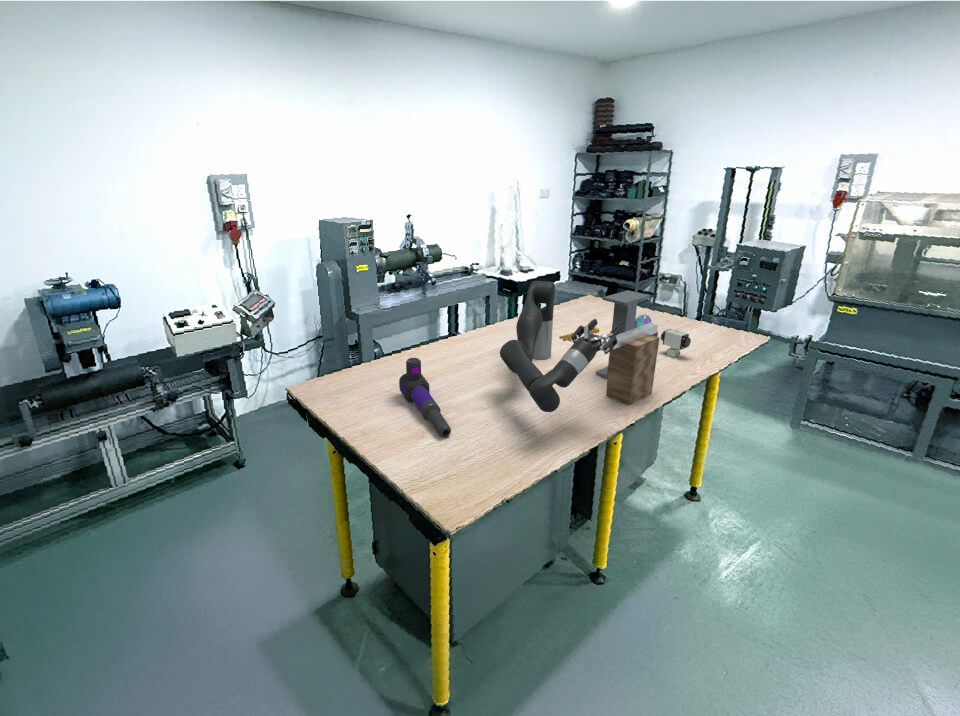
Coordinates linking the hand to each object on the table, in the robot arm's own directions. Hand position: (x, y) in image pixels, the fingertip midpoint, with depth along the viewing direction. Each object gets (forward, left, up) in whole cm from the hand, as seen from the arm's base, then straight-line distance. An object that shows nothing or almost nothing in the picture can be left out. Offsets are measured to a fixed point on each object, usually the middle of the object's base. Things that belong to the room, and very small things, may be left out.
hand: (606, 324), depth 158 cm
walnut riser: (+9, +16, -31) cm, 36 cm away
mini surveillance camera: (+24, +62, -31) cm, 74 cm away
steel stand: (+3, +34, -31) cm, 46 cm away
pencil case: (+11, +82, -31) cm, 88 cm away
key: (-18, +75, -32) cm, 84 cm away
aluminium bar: (+8, +14, -9) cm, 18 cm away
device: (-55, -22, -32) cm, 67 cm away
